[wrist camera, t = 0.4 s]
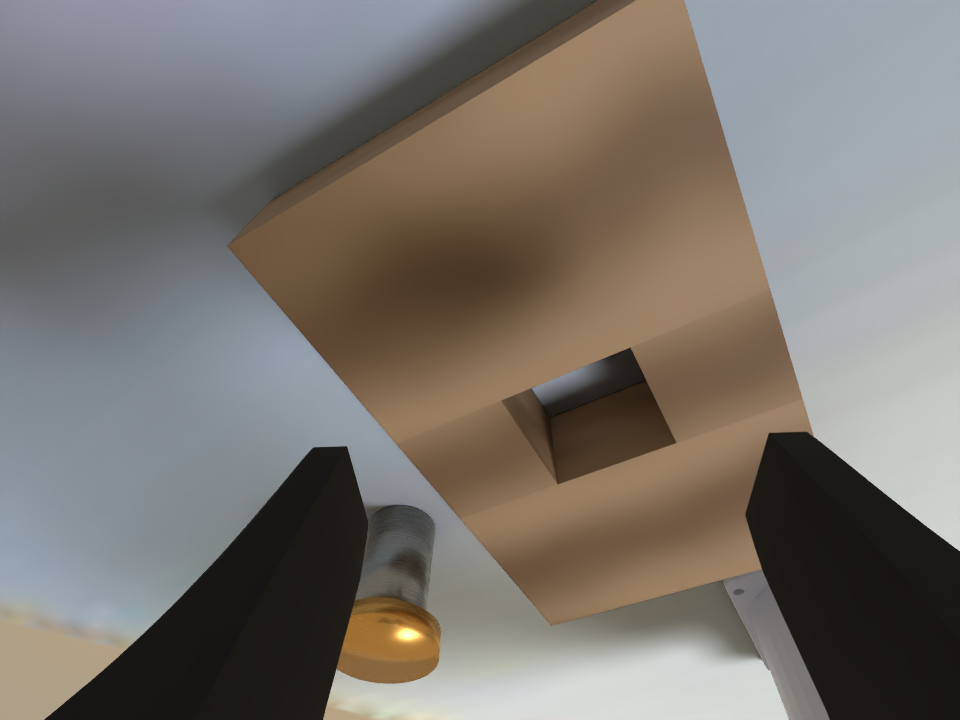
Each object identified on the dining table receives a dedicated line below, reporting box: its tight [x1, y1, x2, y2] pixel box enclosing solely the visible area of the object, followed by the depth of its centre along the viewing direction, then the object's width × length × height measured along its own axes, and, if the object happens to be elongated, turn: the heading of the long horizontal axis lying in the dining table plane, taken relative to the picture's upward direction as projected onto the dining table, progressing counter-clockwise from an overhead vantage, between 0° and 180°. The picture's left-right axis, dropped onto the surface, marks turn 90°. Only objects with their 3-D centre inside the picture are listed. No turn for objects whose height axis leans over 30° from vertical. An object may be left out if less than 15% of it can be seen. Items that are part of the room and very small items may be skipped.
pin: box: [336, 505, 441, 683], centre depth 24 cm, size 4×4×6 cm
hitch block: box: [228, 0, 814, 626], centre depth 19 cm, size 20×12×4 cm, turn 29°
